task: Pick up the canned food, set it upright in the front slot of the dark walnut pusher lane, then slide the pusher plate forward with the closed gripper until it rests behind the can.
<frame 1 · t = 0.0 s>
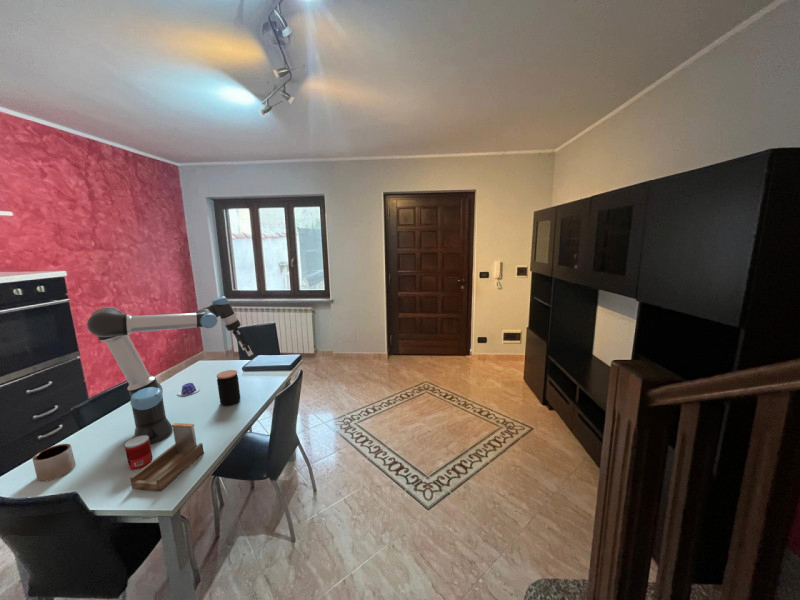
hand: (248, 352, 187), 28 cm above the table, tool tilted 20°, fingers open, 13 cm apart
coffee jar: (230, 402, 185), on the table
pusher: (185, 439, 137), point 8 cm above the table, slide at 0.0 cm
planter: (57, 472, 129), on the table
pudding: (189, 392, 199), on the table
canned food: (141, 464, 133), on the table
pusher lane: (170, 469, 129), on the table
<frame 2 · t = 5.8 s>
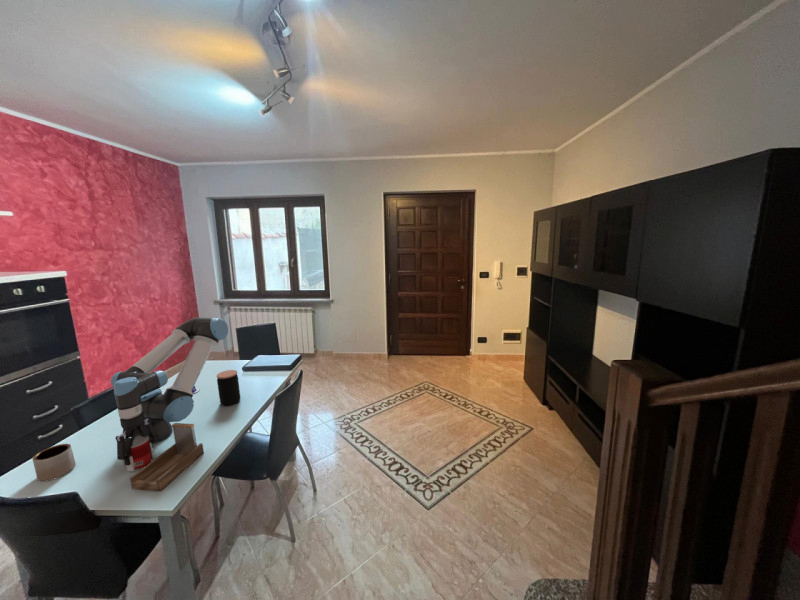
hand: (141, 463, 133), 0 cm above the table, tool pointing down, fingers closed on canned food, 8 cm apart
canned food: (141, 464, 133), on the table, touching gripper
everything else where it was.
when the fingers open (2 cm above the table, at t = 12.3 s): canned food drops 1 cm, resting on pusher lane.
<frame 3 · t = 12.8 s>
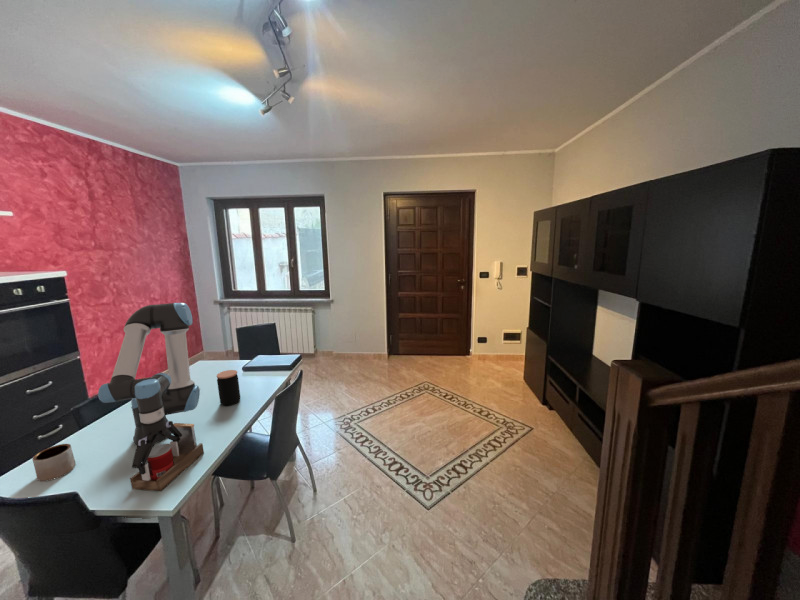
hand: (162, 467, 125), 4 cm above the table, tool pointing down, fingers open, 13 cm apart
canned food: (163, 474, 126), point 1 cm above the table, touching pusher lane
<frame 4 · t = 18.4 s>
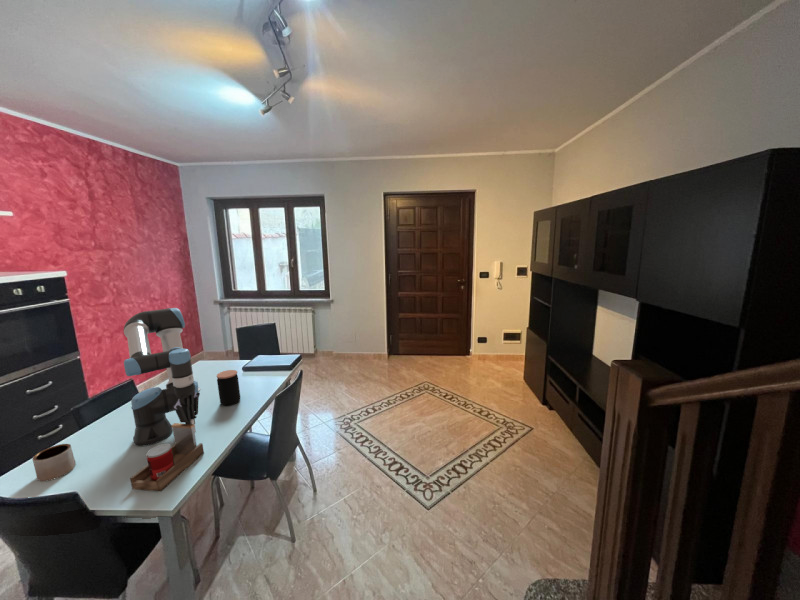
hand: (191, 432, 140), 8 cm above the table, tool pointing down, fingers closed
pusher: (184, 439, 137), point 8 cm above the table, slide at 0.2 cm, touching gripper
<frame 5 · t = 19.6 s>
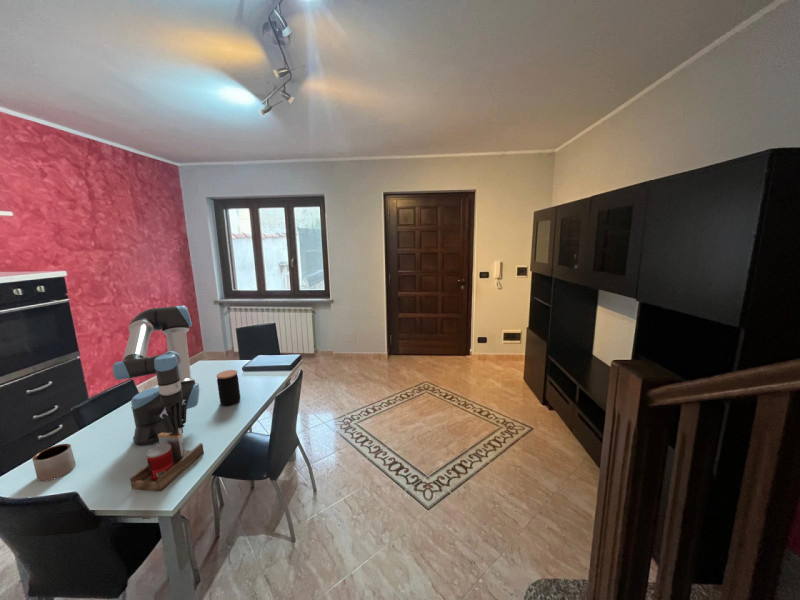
hand: (179, 442, 134), 8 cm above the table, tool pointing down, fingers closed
pusher: (171, 449, 130), point 8 cm above the table, slide at 7.1 cm, touching gripper
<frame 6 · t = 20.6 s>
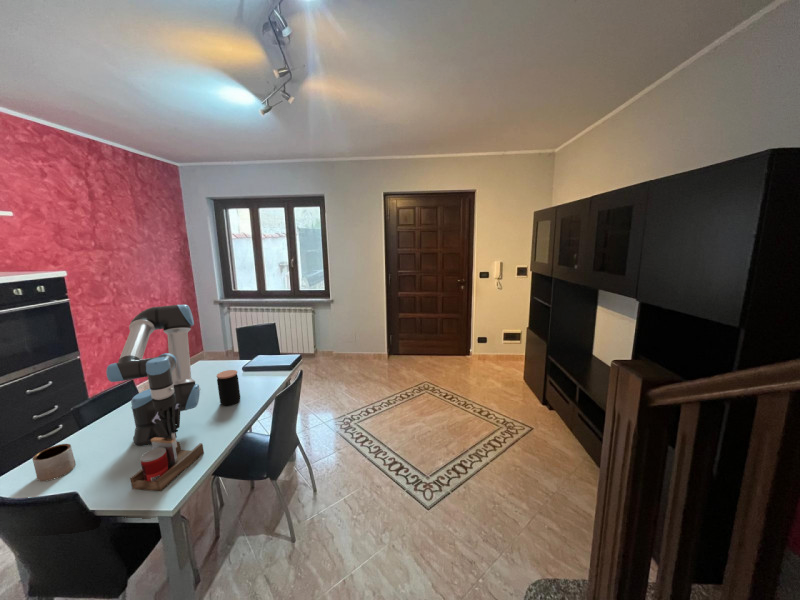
hand: (173, 447, 130), 8 cm above the table, tool pointing down, fingers closed
pusher: (165, 454, 127), point 8 cm above the table, slide at 10.2 cm, touching canned food, gripper
canned food: (158, 478, 124), point 1 cm above the table, touching pusher, pusher lane
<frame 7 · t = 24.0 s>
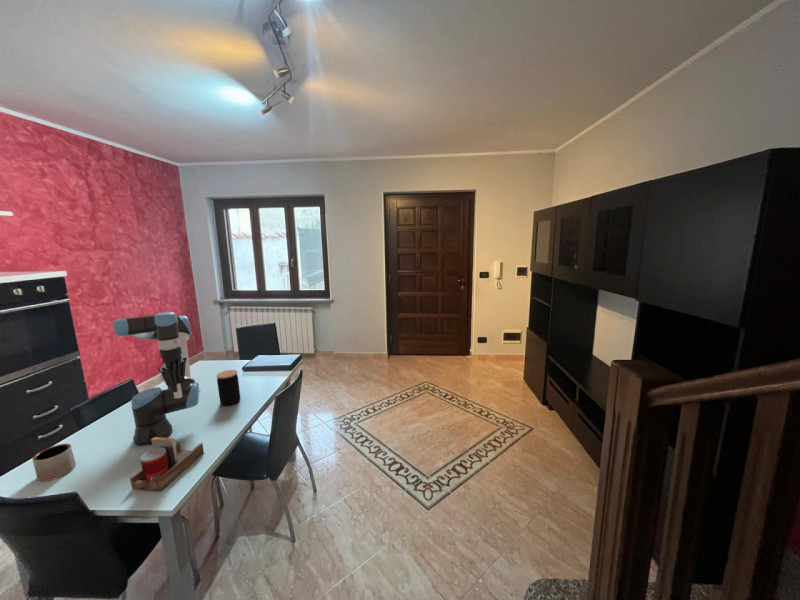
hand: (178, 397, 140), 24 cm above the table, tool pointing down, fingers closed
pusher: (165, 454, 127), point 8 cm above the table, slide at 10.0 cm
canned food: (158, 478, 124), point 1 cm above the table, touching pusher lane
at the end: canned food 1.3 cm from the target spot on the pusher lane, point 0.6 cm above the pusher lane's base; canned food tilted 0°; pusher slide at 10.0 cm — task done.
